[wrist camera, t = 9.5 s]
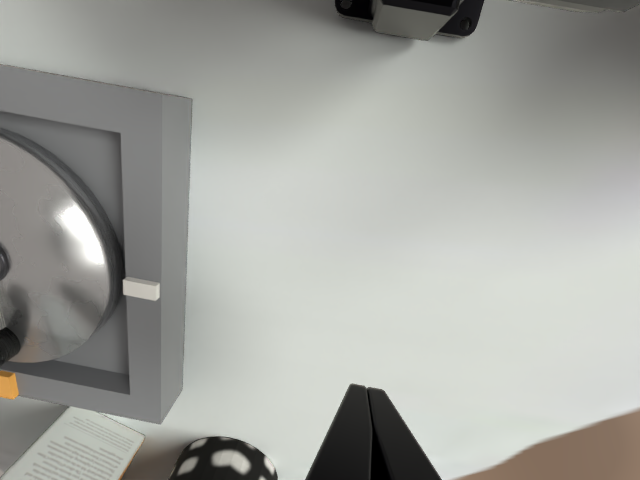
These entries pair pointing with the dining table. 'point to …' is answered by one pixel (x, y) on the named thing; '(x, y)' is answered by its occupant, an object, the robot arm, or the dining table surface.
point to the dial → (51, 255)
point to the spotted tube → (222, 461)
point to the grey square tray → (130, 228)
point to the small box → (78, 449)
